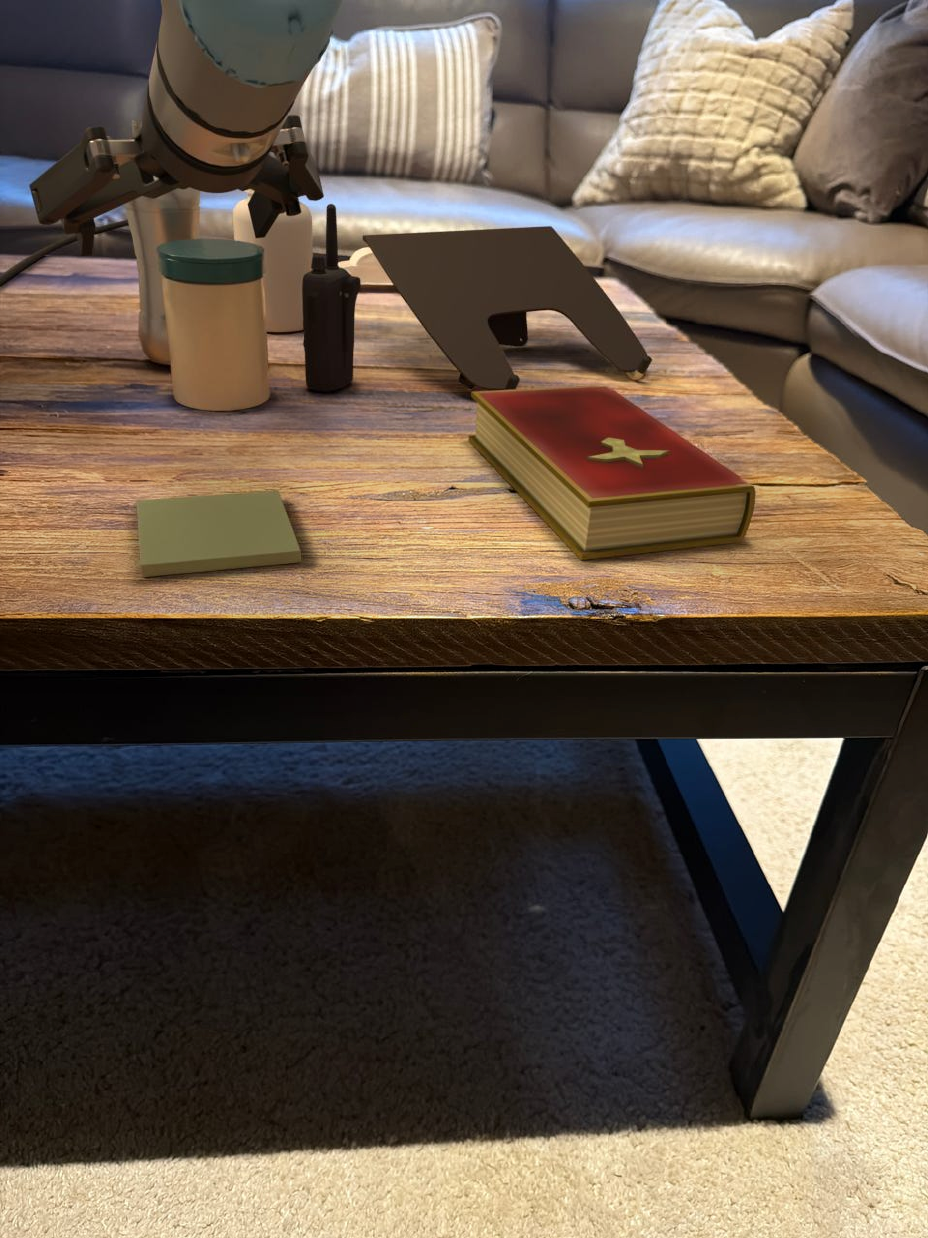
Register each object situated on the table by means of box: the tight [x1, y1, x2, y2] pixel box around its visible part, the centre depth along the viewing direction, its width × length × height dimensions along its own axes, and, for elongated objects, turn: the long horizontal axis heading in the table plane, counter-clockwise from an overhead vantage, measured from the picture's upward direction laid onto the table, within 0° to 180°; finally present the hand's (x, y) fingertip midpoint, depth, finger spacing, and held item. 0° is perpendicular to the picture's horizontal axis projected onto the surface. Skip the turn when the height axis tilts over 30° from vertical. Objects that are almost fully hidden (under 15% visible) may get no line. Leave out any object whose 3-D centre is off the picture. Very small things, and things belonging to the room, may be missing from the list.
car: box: [338, 246, 394, 286], centre depth 119 cm, size 12×6×5 cm, turn 107°
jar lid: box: [157, 238, 266, 283], centre depth 76 cm, size 8×8×2 cm
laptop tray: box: [362, 225, 653, 391], centre depth 94 cm, size 23×23×9 cm
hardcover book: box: [467, 384, 756, 561], centre depth 68 cm, size 12×21×4 cm, turn 19°
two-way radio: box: [302, 203, 362, 393], centre depth 81 cm, size 6×4×15 cm
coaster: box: [136, 489, 302, 578], centre depth 59 cm, size 9×9×1 cm
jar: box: [161, 274, 271, 412], centre depth 78 cm, size 8×8×12 cm
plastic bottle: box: [123, 119, 201, 366], centre depth 83 cm, size 6×7×20 cm
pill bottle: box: [232, 189, 314, 333], centre depth 98 cm, size 8×8×15 cm
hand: (171, 229), depth 75 cm, fingers open, 13 cm apart
